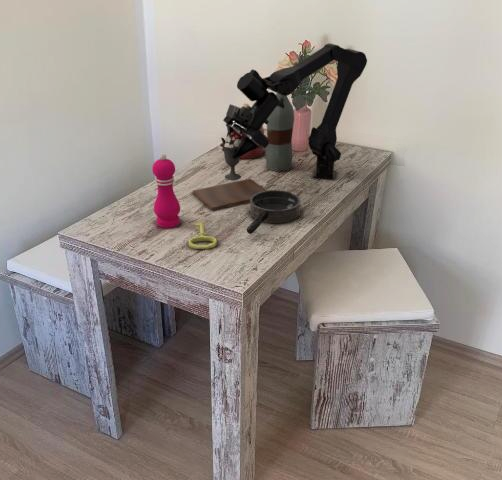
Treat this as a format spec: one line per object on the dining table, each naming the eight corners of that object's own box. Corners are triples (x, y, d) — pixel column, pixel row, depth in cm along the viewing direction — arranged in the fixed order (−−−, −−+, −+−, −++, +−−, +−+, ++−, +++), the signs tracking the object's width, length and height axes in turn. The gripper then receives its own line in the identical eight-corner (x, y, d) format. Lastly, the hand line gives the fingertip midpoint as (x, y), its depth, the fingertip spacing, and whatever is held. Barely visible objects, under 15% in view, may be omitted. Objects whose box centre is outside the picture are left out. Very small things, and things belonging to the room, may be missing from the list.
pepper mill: (176, 230, 157) (171, 159, 146) (151, 227, 158) (144, 157, 147) (184, 218, 163) (179, 150, 152) (159, 216, 164) (153, 148, 153)
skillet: (256, 200, 173) (256, 188, 171) (303, 205, 170) (303, 192, 168) (245, 221, 161) (245, 208, 159) (295, 226, 158) (296, 213, 156)
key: (203, 227, 158) (202, 220, 157) (219, 246, 149) (219, 239, 147) (178, 232, 156) (177, 224, 155) (193, 252, 146) (192, 245, 145)
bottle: (271, 160, 201) (273, 71, 186) (296, 164, 198) (300, 73, 182) (260, 169, 194) (262, 77, 178) (286, 173, 191) (289, 80, 175)
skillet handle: (262, 215, 159) (262, 209, 158) (269, 217, 159) (269, 210, 158) (245, 234, 150) (245, 227, 149) (252, 235, 149) (252, 228, 148)
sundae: (248, 177, 173) (248, 127, 165) (231, 183, 169) (229, 133, 161) (234, 171, 177) (233, 122, 169) (217, 177, 173) (215, 127, 165)
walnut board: (250, 181, 185) (250, 178, 185) (272, 197, 175) (272, 194, 174) (192, 193, 178) (192, 190, 177) (212, 210, 167) (212, 207, 167)
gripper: (228, 86, 169) (195, 130, 170) (259, 101, 155) (224, 148, 156) (251, 109, 176) (220, 151, 178) (284, 125, 162) (250, 170, 164)
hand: (228, 154), depth 169 cm, fingers closed on sundae, 6 cm apart
